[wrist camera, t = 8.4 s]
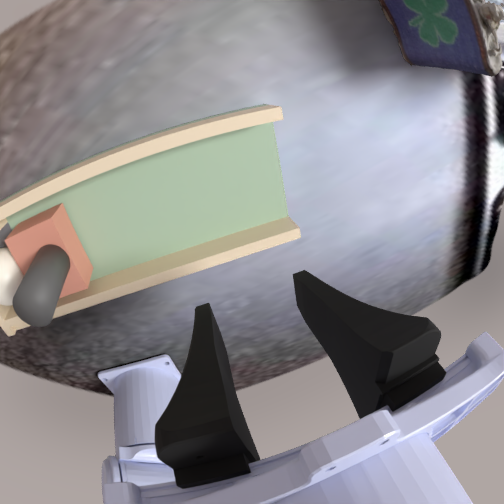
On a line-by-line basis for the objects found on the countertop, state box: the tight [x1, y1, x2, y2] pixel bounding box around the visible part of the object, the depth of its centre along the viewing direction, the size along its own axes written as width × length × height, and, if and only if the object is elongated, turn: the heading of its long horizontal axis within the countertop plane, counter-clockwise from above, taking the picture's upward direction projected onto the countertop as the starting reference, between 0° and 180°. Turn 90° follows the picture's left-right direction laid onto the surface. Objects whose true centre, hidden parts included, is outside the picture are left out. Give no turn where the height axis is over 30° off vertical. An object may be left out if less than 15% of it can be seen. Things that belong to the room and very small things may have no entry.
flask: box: [379, 0, 504, 76], centre depth 12 cm, size 9×3×11 cm, turn 30°
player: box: [4, 203, 93, 327], centre depth 15 cm, size 5×4×7 cm
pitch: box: [0, 104, 301, 337], centre depth 18 cm, size 9×24×4 cm, turn 101°
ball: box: [0, 248, 24, 306], centre depth 16 cm, size 4×4×4 cm
